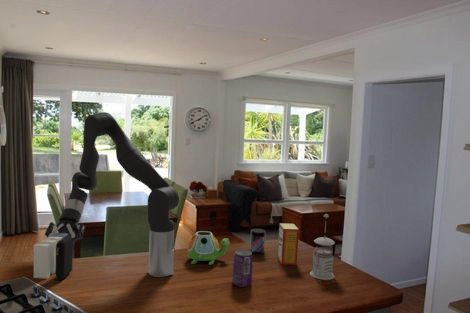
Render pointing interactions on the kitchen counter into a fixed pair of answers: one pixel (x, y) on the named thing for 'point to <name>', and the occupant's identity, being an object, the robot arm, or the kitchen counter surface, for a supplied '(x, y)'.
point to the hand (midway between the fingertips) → (58, 247)
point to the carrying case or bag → (64, 257)
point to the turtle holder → (206, 247)
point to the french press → (323, 259)
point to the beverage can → (242, 268)
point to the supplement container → (257, 241)
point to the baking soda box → (288, 244)
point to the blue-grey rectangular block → (59, 235)
